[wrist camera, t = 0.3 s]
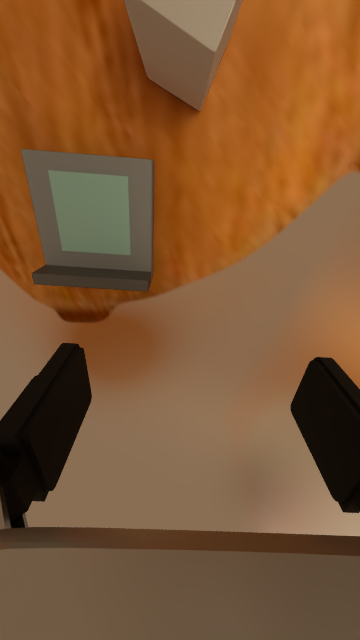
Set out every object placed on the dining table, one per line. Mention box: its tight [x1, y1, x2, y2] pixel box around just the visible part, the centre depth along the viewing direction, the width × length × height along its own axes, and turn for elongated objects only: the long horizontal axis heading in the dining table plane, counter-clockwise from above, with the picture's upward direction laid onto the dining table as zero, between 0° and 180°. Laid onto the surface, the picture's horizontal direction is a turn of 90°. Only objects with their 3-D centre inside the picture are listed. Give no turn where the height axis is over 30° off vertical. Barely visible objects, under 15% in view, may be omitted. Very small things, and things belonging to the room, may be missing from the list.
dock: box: [21, 149, 154, 291], centre depth 33 cm, size 16×16×7 cm
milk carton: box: [124, 0, 242, 111], centre depth 19 cm, size 7×7×19 cm
